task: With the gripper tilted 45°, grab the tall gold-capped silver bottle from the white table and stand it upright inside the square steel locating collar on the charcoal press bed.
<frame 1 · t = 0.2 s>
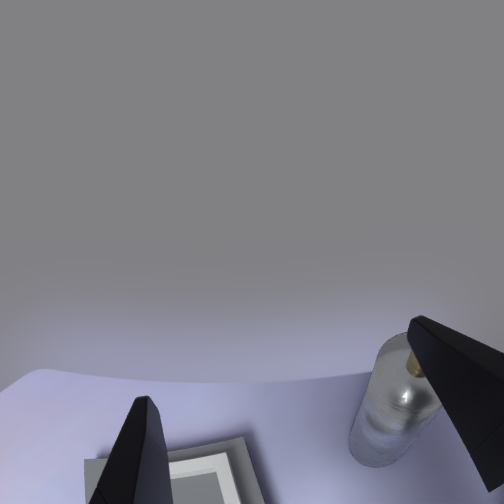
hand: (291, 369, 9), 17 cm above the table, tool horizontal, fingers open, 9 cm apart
gold-capped silver bottle: (378, 440, 20), on the table
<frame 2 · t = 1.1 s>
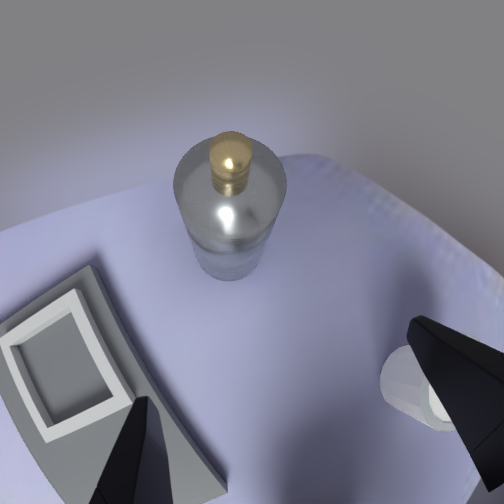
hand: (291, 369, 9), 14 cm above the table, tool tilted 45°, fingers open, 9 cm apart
press bed: (86, 417, 19), on the table
shot glass: (406, 376, 22), on the table
gold-capped silver bottle: (228, 248, 24), on the table
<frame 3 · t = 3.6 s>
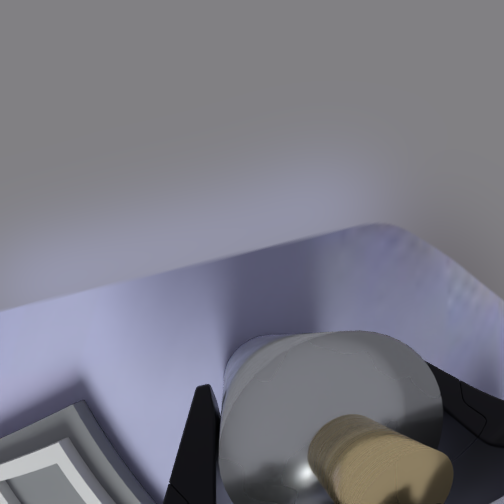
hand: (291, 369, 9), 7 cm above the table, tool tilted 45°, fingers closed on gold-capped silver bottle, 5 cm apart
gold-capped silver bottle: (271, 380, 16), on the table, touching gripper
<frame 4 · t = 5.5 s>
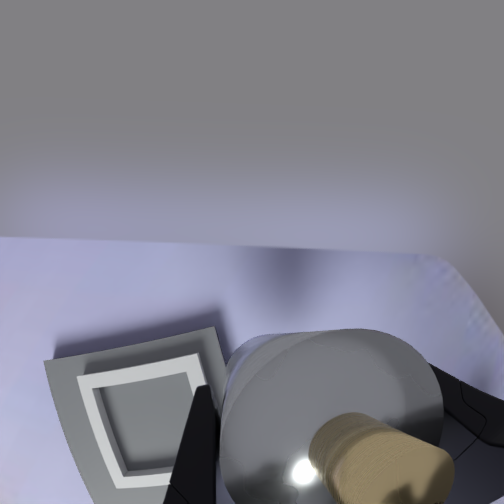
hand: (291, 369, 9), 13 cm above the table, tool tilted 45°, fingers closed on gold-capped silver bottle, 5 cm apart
press bed: (163, 466, 19), on the table
gold-capped silver bottle: (271, 379, 16), point 6 cm above the table, touching gripper
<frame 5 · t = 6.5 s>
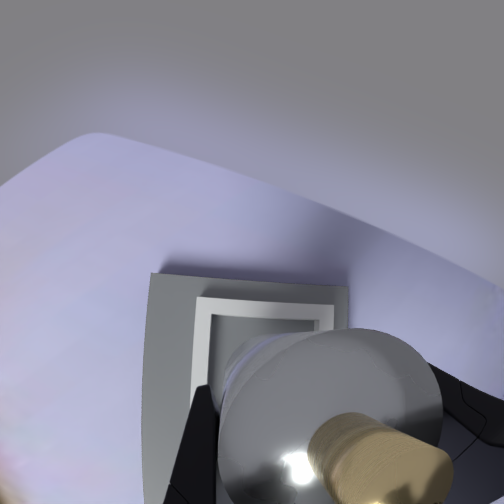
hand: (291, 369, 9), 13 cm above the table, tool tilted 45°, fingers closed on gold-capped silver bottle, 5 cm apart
press bed: (241, 418, 20), on the table
gold-capped silver bottle: (270, 379, 16), point 6 cm above the table, touching gripper
when the fingers open (10 cm above the table, at t = 7.4 s): gold-capped silver bottle drops 2 cm, resting on press bed.
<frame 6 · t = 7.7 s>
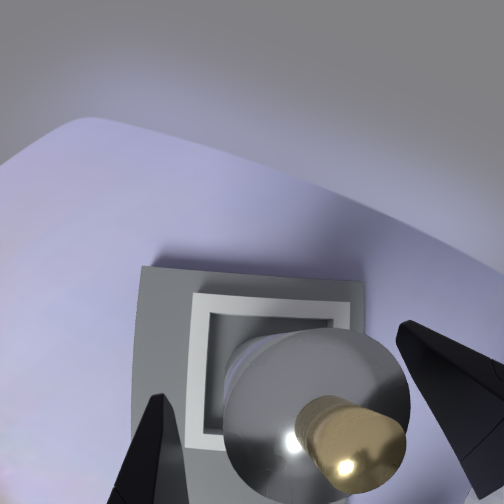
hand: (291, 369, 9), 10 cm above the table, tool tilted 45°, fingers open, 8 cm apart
press bed: (244, 430, 18), on the table
shot glass: (481, 492, 16), on the table
gold-capped silver bottle: (267, 377, 17), point 2 cm above the table, touching press bed
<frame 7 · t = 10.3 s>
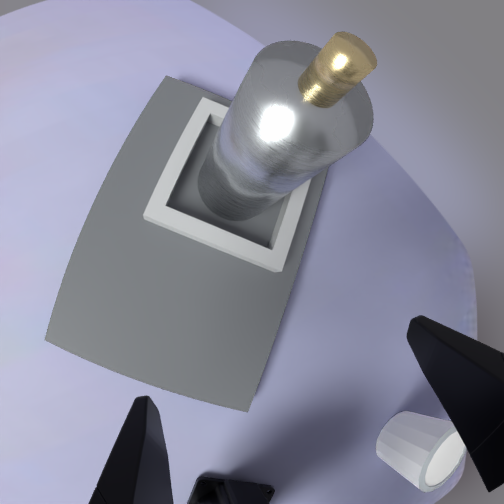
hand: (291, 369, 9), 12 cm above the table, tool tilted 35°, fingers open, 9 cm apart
press bed: (195, 236, 21), on the table
shot glass: (396, 435, 24), on the table
gold-capped silver bottle: (235, 184, 20), point 2 cm above the table, touching press bed
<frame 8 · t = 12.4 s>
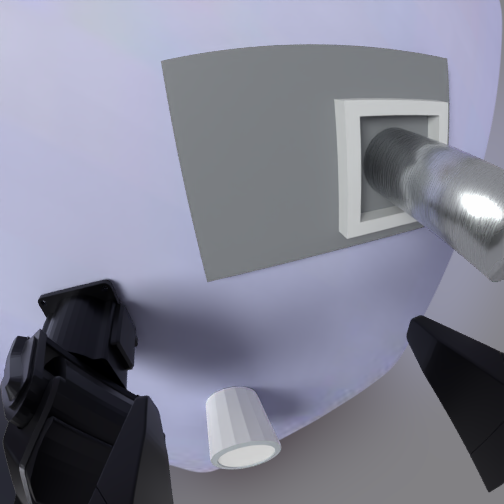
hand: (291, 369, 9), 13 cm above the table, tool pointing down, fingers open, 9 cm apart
press bed: (333, 148, 20), on the table
shot glass: (231, 400, 31), on the table
gold-capped silver bottle: (393, 161, 19), point 2 cm above the table, touching press bed
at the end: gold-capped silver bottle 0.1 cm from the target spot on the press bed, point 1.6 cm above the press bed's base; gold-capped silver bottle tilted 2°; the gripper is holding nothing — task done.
